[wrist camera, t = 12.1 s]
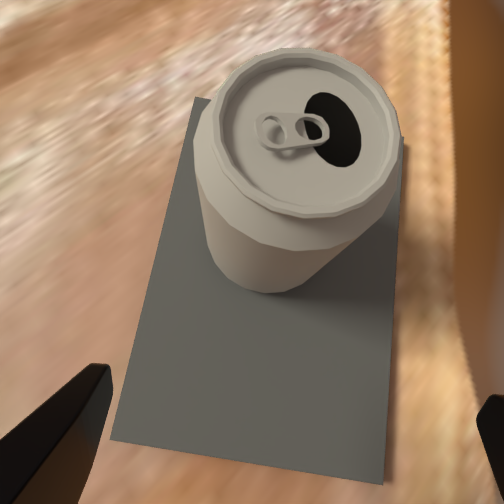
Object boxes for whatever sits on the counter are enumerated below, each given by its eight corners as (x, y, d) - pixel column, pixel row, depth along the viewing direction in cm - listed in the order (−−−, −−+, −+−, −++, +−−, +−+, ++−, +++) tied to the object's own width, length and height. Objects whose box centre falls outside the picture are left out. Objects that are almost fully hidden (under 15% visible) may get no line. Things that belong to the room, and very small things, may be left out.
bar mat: (377, 479, 20) (383, 485, 20) (113, 436, 20) (109, 439, 19) (398, 143, 26) (403, 136, 25) (196, 104, 26) (195, 96, 25)
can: (339, 280, 22) (461, 206, 11) (221, 308, 21) (217, 261, 10) (306, 173, 24) (379, 11, 13) (195, 194, 23) (166, 42, 12)
